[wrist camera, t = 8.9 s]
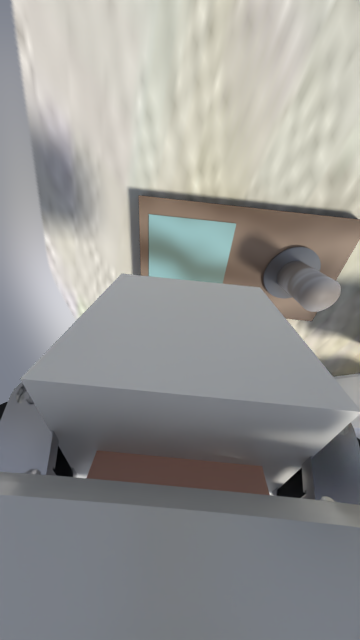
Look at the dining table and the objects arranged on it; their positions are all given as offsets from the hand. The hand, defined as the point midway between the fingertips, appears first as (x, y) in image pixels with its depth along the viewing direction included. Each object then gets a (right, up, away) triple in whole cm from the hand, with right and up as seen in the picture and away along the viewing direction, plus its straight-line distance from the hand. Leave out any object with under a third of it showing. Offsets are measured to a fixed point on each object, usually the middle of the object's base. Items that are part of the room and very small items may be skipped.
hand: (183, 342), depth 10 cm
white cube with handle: (0, 0, 0) cm, 1 cm away
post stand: (+7, +8, +13) cm, 17 cm away
